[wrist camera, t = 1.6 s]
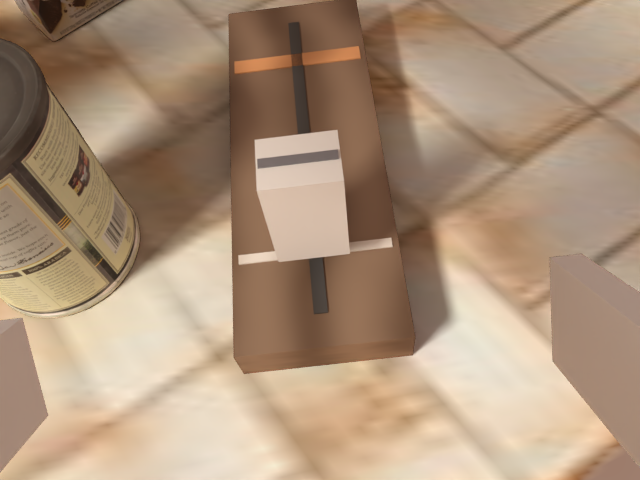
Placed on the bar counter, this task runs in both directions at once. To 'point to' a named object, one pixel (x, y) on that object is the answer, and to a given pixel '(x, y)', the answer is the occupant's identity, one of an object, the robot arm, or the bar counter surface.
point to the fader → (303, 194)
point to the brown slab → (360, 193)
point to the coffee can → (54, 203)
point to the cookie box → (62, 14)
